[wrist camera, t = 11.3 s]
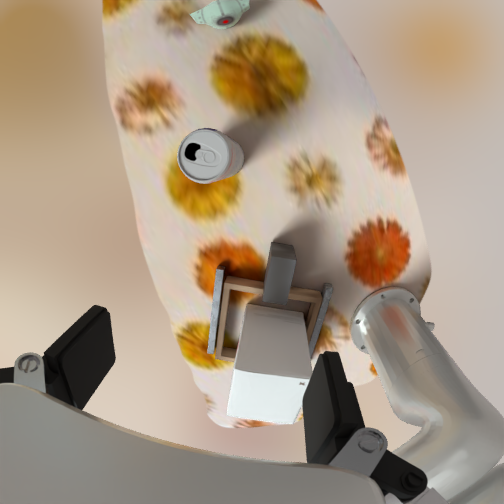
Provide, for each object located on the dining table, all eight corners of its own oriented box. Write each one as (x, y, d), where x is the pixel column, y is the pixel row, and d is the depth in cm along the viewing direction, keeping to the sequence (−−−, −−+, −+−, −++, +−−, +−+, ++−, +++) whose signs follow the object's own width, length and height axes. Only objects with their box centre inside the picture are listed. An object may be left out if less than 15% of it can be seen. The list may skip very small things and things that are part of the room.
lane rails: (331, 284, 40) (333, 288, 39) (306, 362, 45) (307, 368, 43) (218, 265, 40) (216, 268, 39) (209, 347, 45) (207, 352, 43)
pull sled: (329, 252, 38) (339, 267, 33) (298, 362, 44) (300, 386, 39) (232, 235, 38) (226, 248, 33) (217, 349, 45) (211, 372, 39)
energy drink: (213, 133, 35) (187, 119, 23) (250, 146, 35) (240, 138, 24) (199, 169, 36) (167, 173, 25) (235, 183, 37) (219, 192, 25)
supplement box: (245, 301, 42) (233, 366, 28) (304, 311, 42) (316, 378, 27) (237, 348, 45) (224, 417, 30) (290, 356, 44) (294, 426, 30)
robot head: (250, 9, 28) (246, -15, 22) (258, 29, 30) (256, 6, 23) (197, 25, 30) (184, 4, 23) (203, 45, 31) (191, 25, 24)
